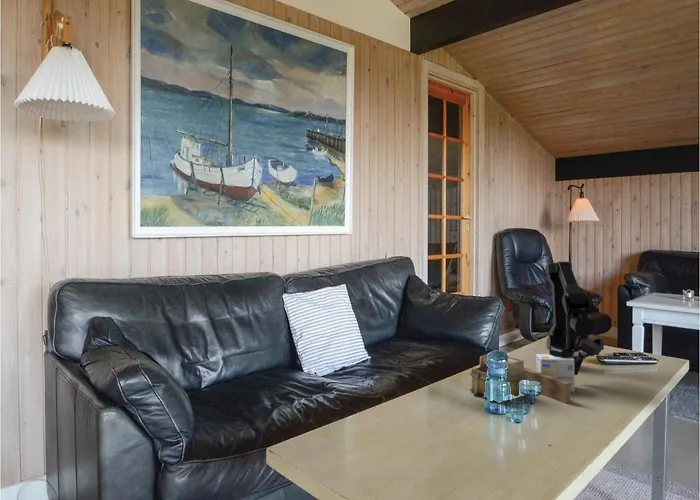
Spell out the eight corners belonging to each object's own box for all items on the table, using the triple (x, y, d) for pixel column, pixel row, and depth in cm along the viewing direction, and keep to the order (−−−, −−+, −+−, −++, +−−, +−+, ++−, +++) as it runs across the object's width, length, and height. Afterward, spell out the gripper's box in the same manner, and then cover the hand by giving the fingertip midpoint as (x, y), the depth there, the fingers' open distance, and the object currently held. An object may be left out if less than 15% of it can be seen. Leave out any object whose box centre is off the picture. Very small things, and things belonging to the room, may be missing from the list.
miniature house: (494, 383, 166) (494, 350, 165) (528, 395, 154) (528, 359, 153) (462, 392, 158) (462, 357, 158) (495, 405, 146) (495, 367, 146)
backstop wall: (512, 383, 166) (511, 365, 165) (516, 382, 167) (516, 364, 166) (566, 403, 146) (566, 383, 146) (570, 402, 147) (570, 382, 147)
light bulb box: (568, 385, 162) (568, 353, 162) (575, 392, 156) (575, 359, 155) (535, 384, 164) (535, 353, 163) (540, 391, 157) (540, 358, 156)
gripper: (577, 337, 151) (577, 386, 152) (616, 330, 160) (615, 376, 160) (548, 330, 161) (548, 376, 162) (586, 324, 170) (586, 368, 170)
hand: (575, 374), depth 164 cm, fingers closed
